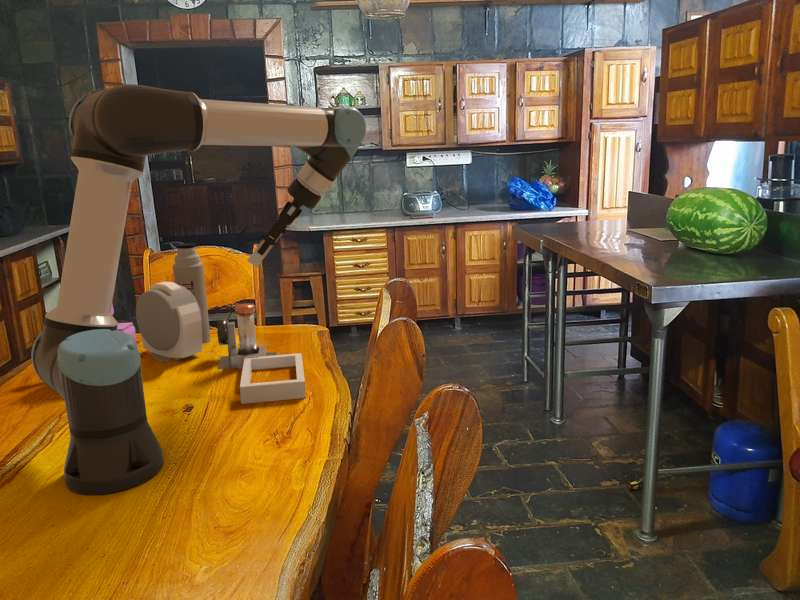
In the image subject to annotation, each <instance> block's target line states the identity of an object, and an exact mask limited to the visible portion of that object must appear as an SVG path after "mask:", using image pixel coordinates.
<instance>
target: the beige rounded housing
mask: <svg viewBox="0 0 800 600" xmlns="http://www.w3.org/2000/svg"><path fill="white" fill-rule="evenodd" d="M135 319H136V322H137V327H138V330H139V334H140V339H141V342H142V343H141V344H142V346H143V349H145V350H147V351H149V352H150V353H151V358H152V359H153V360H158V361H161V362H165V363H170V361H171V360H175V361H181V360H184V359H186V358H189V357H192V356H195V355H197V354H199V353H202V352H203V344H202V316H201V311H200V308H199V305H198V302H197V301H196V299H195V297H194V296H193V294H192V293H191V292H190V291H189V290H188V289H186V288H185V287H183V286H180V285H177V284H176V283H174V282H172V281H161V282H158V283H154V284H151V285H150V287H149V289H148V290H146V291H144V292H142V293H141V295H139V297H138V300H137V302H136V307H135Z"/></svg>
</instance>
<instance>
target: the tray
mask: <svg viewBox="0 0 800 600" xmlns="http://www.w3.org/2000/svg"><path fill="white" fill-rule="evenodd" d="M302 355H303V354H302V352H300V353H288V354H287V353H286V354H276V355H272V356H260V357H254V358H244V364H243V369H241V370H242V371H241V377H240V385H239V393H240V394H239V395H240V403H241V405H244V404H245V405H246V404H256V403H264V402H265V403H266V402H276V401H287V400H288V401H289V400H296V399H297V400H298V399H305V398H307V394H306V393H307V392H306V380H305V373H304V372H305V371H304V364H303V356H302ZM289 367H295V371H296V372H295V373H296V379H286V380H284V379H283V380H274V381H264V382H254V383H253V382H252V383H251V380H252V371H255V370H266V369H267V370H268V369H278V368H289Z"/></svg>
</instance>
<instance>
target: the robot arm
mask: <svg viewBox="0 0 800 600" xmlns="http://www.w3.org/2000/svg"><path fill="white" fill-rule="evenodd" d="M69 113H70V114H69V119H68V126H69V133H70V134H71V138H72V139H73V142H72V143H73V144H72V148H71V154H70V155H71V156H70V160H71V161H72V162H73V164H74V165H75V166H76V168H77V170H78V175H77V181H76V185H75V186H76V188H75V193H74V199H73V205H72V212H71V218H70V224H69V229H68V236H67V243H66V247H65V248H66V249H65V254H64V259H63V266H62V271H61V272H62V273H61V278H60V285H59V289H58V297H57V304H56V306H55V307H54V308H52V309H51V310H49V311H48V312H47V313H46V314H44V315H45V316H44V322H43V329H42V331H41V332H40V333H39V335H37V337H36V339H35V340H34V342H33V344H32V348H31V353H30V354H31V364H32V367H33V369H34V371H35V372H36V375H37V376H38V378H39V380H41V381H42V382H43V383H44V384H45V385H46V386H47V387H48V388H51V389H52V390H54V391H55V392H56V394H58V395H60V396H61V397H62V398H63V400H64V403H65V410H66V415H67V423H68V428H69V434H70V435H69V436H70V438H69V439H70V440H69V442H68V443H69V444H68V449H67V452H66V457H65V462H64V467H63V477H64V481H65V486H66V488H68V489H69V490H70V491H72V492H74V493H77V494H80V495H81V494H82V495H106V494H112V493H117V492H121V491H124V490H128V489H131V488H134V487H136V486H139V485H141V484H143V483H146V482H147V481H148V480H150V479H152V478H153V477H154V476H156V475H157V474H158V473H159V472H160V471H161V470H162V468H163V466H164V454H163V448H162V446H161V444H160V442H159V440H158V439H157V437H156V435H155V433H154V432H153V428H152V427H151V425H150V424H149V422H148V421H149V420H148V417H147V416H148V415H147V408H146V401H145V391H144V384H143V381H144V380H143V375H142V367H141V363H142V362H141V360H142V359H141V358H142V357H141V355H140V351H139V349H138V344H137V340H136V341H135V339H134V338H133V337H132V336H131V335H129V334H127V333H125V332H122V331H118V330H117V326H118V323H119V322H118V321H117V319H115V317H114V316H113V315H111V306H112V304H113V299H114V293H115V289H116V288H115V287H116V281H117V276H118V275H117V274H118V268H119V263H120V257H121V256H120V255H121V251H122V244H123V240H124V232H125V226H126V221H127V214H128V208H129V203H130V198H131V197H130V196H131V191H132V184H133V182H134V181H135V180H137V179H138V178H140V177H142V176H143V175H144V169H145V164H146V157H148V156H153V155H159V154H164V153H174V152H185V151H186V152H191V151H192V152H195V151H197V150H198V149H199V148H200V147H201V146H243V147H244V146H245V147H246V146H247V147H248V146H253V147H257V146H261V147H263V146H265V147H294V148H297V149H298V150H300V151H301V152H302V153H304V154H305V155H307V156H309V159H308V160H307V161H306V162H305V164H304V165H303V166H302V168H301V169H300V170H299V172H298V173H297V177H295V178H294V179H293V181H291V183H290V185H288V188H287V193H288V194H289V195H290V197H293V200H292V201H290V200H288V201H287V202H286V203H285V204H284V206H283V207H282V210H281V211H280V213H279V214H278V216H277V218H278V219H277V221H276V222H275V223H274V224H273V226H272V227H271V228H270V230H269V231H268V232H267V233H266V235H265V234H262V235H261V236H260V238H261V239H262V240H261V241H260V242H259V244H258V245H257V247H256V248H255V249H254V251H253V252H252V253H251V254H250V256H249V257H248V259H247V260H246V261H247V262H248V263H249V264H250V265H252V266H254V267H255V268H258V267H259V265H261V263H262V261H263V260H264V258H266V256H267V255H268V254H269V252H270V251H271V249H272V248H273V247H274V245H275V244H276V242H277V241H278V240H279V239H280V237H281V236H282V235H285V234H287V232H288V230H287V228H288V226H291V225H292V223H293V222H294V221H295V220H296V219H297V218H298V217H299V216H300V215H301V213H302V212H303V210H302V209H301V207H303V206H305V207H306V208H307V209H310V210H313V209H315V208H316V207H317V205H318V204H319V202H320V200H321V199H322V195H325V193H327V191H328V189H329V190H332V189H333V185H332V184H333V182H335V181H336V179H337V178H338V177H339V175H340V174H341V172H342V171H343V170H344V169H345V167H346V166H347V165H348V164H349V162H351V160H352V159H353V157H354V155H355V153H356V152H357V151H358V149H359V147H360V144H362V143H361V142H362V141H363V140H364V139H365V136H366V134H367V124H366V123H367V122H366V119H365V118H364V115H363V114H362V113H361V111H359V109H356V108H354V107H345V106H343V107H340V108H339V107H338V108H331V107H330V108H328V107H316V106H301V105H296V104H294V103H291V102H290V103H287V104H273V103H261V102H246V101H245V102H244V101H234V100H233V101H232V100H218V99H204V98H203V99H202V98H200V97H198V95H197V94H196V93H194V92H191V91H182V90H172V89H165V88H159V87H153V86H149V85H143V84H142V85H141V84H134V83H133V84H132V83H129V84H128V83H127V84H126V83H125V84H120V85H116V86H112V87H109V88H105V87H104V88H98V89H95V90H92V91H89V92H88V93H86V94H84V95H83V96H82V97H80V99H79V100H77V101H76V103H74V105H73V107H72V108H71V110H70V112H69Z"/></svg>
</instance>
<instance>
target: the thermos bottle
mask: <svg viewBox="0 0 800 600" xmlns="http://www.w3.org/2000/svg"><path fill="white" fill-rule="evenodd" d="M195 247H196V243H190V242H189V243H188V242H187V243H179V244H177V245H176V248H177V250H176V252H177V253H176V254H177V255H176V256H174V259H173V260H174V261H173V262H174V264H173V265H172V271H173V281H174V282H173V283H176V284H177V285H180V286H183V287H185V288H186V289H188V290H189V291H190V292H191V293H192V294H193V296H194V297H195V299H196V301H197V302H198V305H199V308H200V311H201V316H202V345H203V344H209V343H210V342H211V331H210V320H209V311H208V300H207V290H206V281H205V279H206V278H205V272H204V270H205V269H204V263H203V262H201V260H202V259H201V256H200V255H199V254H198V253H197V250H196V248H195Z"/></svg>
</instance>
